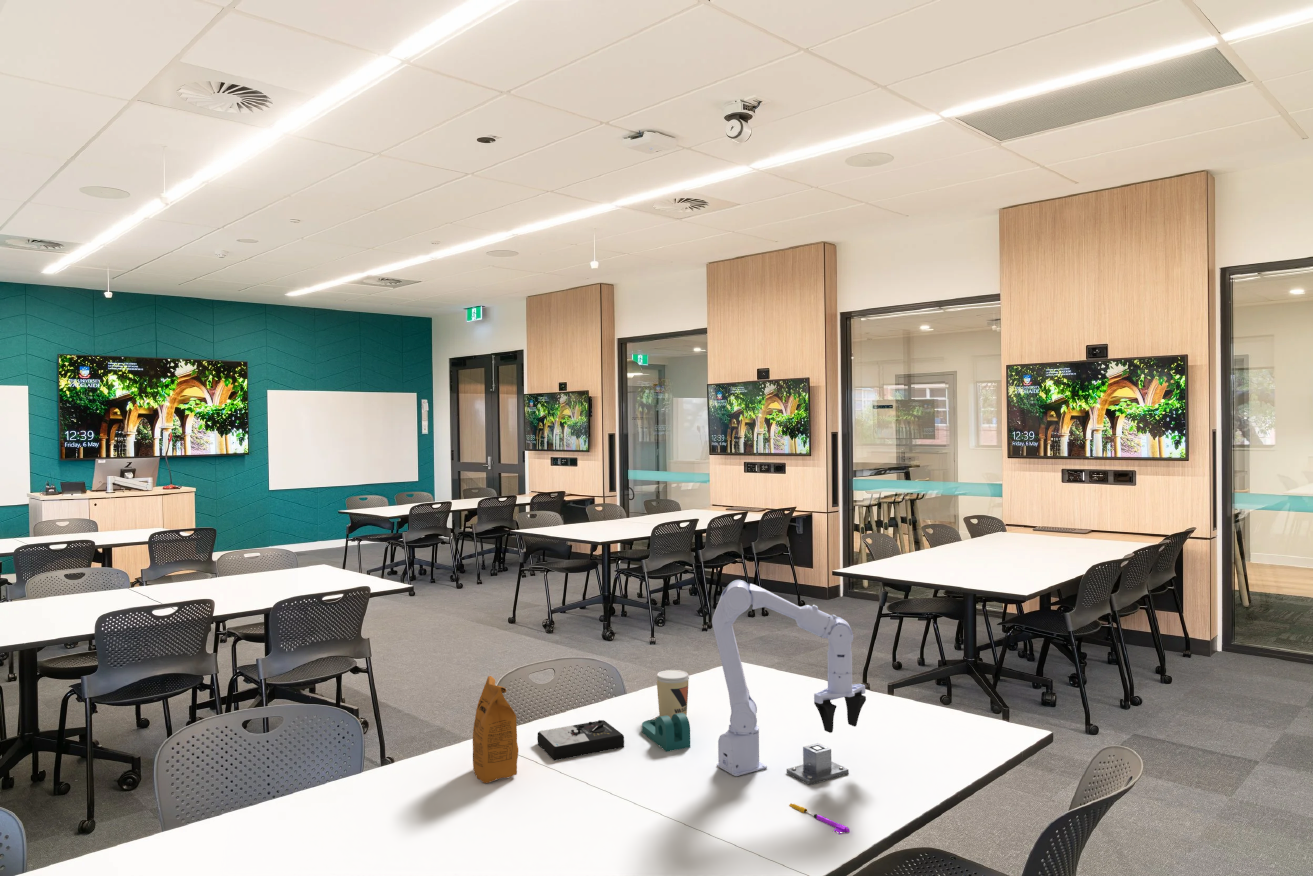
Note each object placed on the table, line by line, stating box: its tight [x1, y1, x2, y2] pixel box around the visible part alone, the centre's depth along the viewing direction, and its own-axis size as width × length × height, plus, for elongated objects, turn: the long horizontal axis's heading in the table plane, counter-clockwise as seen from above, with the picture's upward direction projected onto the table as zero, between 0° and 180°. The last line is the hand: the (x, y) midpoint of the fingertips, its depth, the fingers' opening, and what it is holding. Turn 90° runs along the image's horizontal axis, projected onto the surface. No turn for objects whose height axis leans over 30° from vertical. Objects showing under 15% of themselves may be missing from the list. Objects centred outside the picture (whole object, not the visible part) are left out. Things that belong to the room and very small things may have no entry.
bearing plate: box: [786, 746, 850, 786], centre depth 197 cm, size 12×8×6 cm, turn 121°
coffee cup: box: [655, 669, 690, 718], centre depth 238 cm, size 9×9×12 cm
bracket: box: [641, 713, 691, 753], centre depth 221 cm, size 18×7×8 cm, turn 25°
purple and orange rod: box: [788, 803, 851, 833], centre depth 174 cm, size 3×1×16 cm
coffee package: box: [472, 675, 519, 784], centre depth 199 cm, size 10×12×22 cm
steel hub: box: [802, 742, 832, 775], centre depth 197 cm, size 5×5×5 cm
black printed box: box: [536, 719, 625, 761], centre depth 217 cm, size 13×19×5 cm
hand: (840, 728), depth 199 cm, fingers open, 7 cm apart
